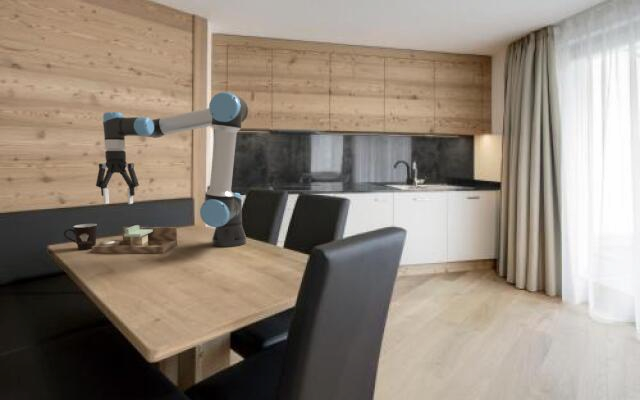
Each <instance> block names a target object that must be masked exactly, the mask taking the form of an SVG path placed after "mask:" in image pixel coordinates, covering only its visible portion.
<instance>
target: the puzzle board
mask: <svg viewBox="0 0 640 400" xmlns="http://www.w3.org/2000/svg"><path fill="white" fill-rule="evenodd" d="M129 227H130V226H122V228H121V229H122V230H121V231H122V232H121V234H122V239H109V240H104V241H101V242H99V243H98V244H96V245H95V246H92V249H91V253H94V254H98V253H99V254H104V253H105V254H165V253H167V252H169V251H170V250H172V249H174V248H176V247H178V229H177V228H178V227H177V226H155V227H154V226H139V228H140V229H153V232H151V233H148V245H131V240H130V237H124V234H125V229H126V228H129Z"/></svg>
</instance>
